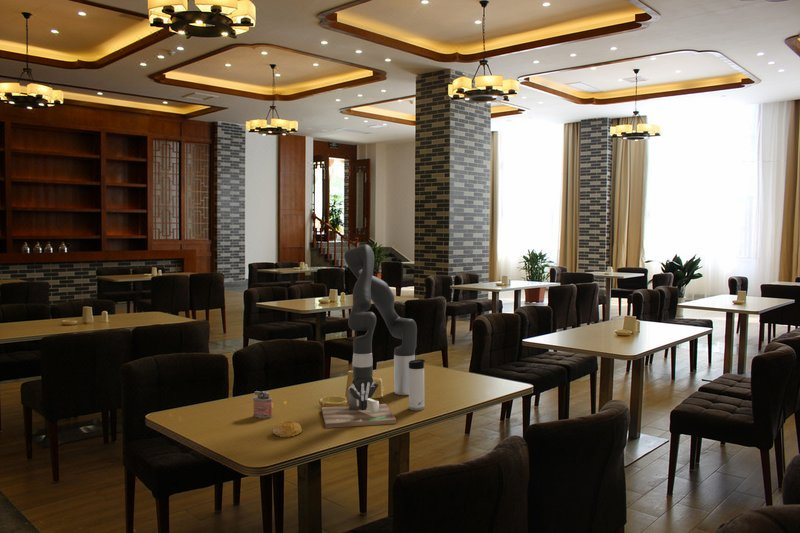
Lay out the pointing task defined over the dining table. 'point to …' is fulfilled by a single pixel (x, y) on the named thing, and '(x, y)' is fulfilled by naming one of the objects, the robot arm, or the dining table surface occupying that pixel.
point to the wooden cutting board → (356, 416)
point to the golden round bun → (287, 429)
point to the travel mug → (416, 384)
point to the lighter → (262, 405)
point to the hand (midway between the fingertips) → (363, 409)
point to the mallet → (371, 404)
